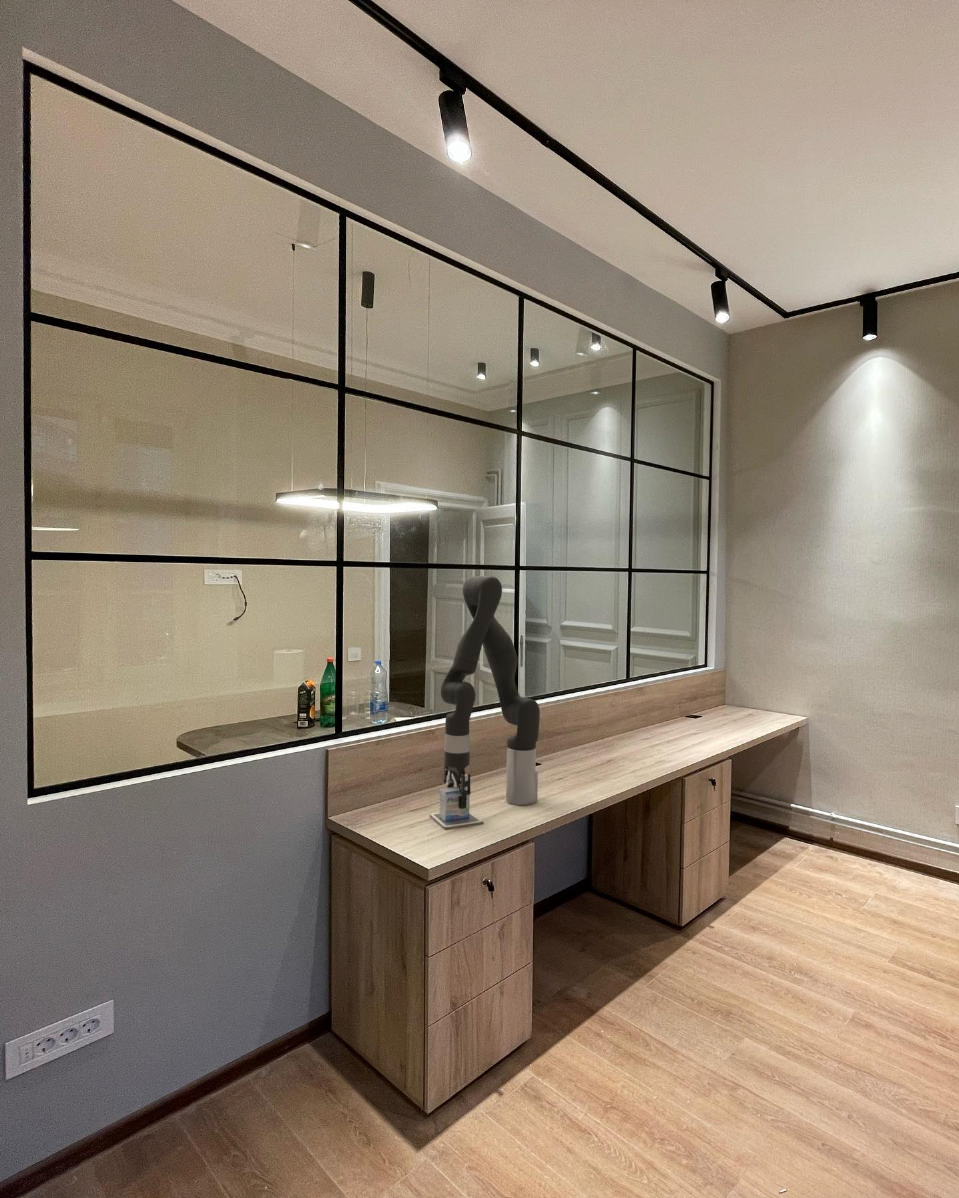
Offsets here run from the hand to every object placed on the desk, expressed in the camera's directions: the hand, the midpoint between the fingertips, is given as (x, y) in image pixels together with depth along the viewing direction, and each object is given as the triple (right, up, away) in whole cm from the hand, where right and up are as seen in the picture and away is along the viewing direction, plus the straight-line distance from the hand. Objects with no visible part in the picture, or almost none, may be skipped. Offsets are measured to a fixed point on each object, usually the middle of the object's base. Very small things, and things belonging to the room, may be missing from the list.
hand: (456, 803), depth 200 cm
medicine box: (-1, -4, 0) cm, 4 cm away
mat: (0, -5, 0) cm, 5 cm away
